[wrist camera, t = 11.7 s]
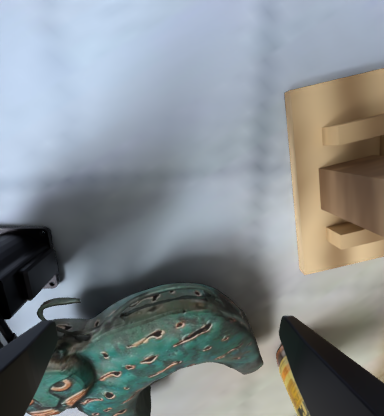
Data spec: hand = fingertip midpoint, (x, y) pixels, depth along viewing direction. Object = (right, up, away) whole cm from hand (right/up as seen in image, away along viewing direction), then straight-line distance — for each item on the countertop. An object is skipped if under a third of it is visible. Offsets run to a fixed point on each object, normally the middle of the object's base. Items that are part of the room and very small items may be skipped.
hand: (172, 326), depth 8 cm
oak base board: (+16, +8, +12) cm, 22 cm away
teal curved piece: (+1, -16, +17) cm, 24 cm away
